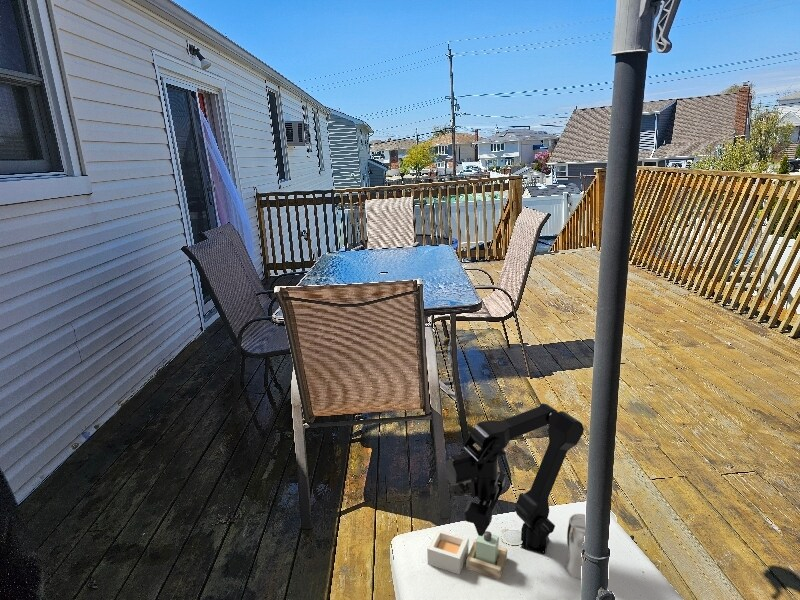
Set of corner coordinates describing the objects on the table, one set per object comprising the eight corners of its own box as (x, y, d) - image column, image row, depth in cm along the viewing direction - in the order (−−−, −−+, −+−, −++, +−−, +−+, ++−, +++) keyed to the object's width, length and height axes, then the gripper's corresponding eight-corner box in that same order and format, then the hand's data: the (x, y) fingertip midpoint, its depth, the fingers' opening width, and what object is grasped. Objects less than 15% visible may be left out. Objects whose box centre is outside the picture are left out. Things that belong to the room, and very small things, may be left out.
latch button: (461, 549, 137) (461, 546, 137) (455, 562, 133) (455, 559, 132) (441, 543, 139) (441, 540, 139) (435, 555, 135) (434, 552, 135)
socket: (468, 552, 138) (468, 537, 137) (459, 574, 131) (459, 558, 130) (437, 543, 142) (437, 528, 140) (427, 563, 135) (427, 548, 134)
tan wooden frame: (506, 557, 136) (507, 548, 135) (499, 579, 129) (500, 570, 129) (474, 547, 140) (475, 538, 139) (466, 568, 133) (466, 559, 132)
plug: (497, 560, 135) (498, 531, 133) (494, 571, 132) (495, 541, 129) (479, 554, 137) (480, 526, 135) (475, 565, 134) (476, 536, 131)
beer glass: (594, 582, 128) (599, 534, 123) (565, 578, 129) (569, 530, 125) (590, 561, 134) (595, 514, 130) (563, 558, 136) (566, 511, 131)
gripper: (465, 445, 138) (465, 493, 142) (443, 486, 121) (443, 539, 126) (506, 453, 133) (504, 503, 138) (488, 497, 117) (487, 552, 121)
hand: (485, 523), depth 131 cm, fingers open, 9 cm apart
